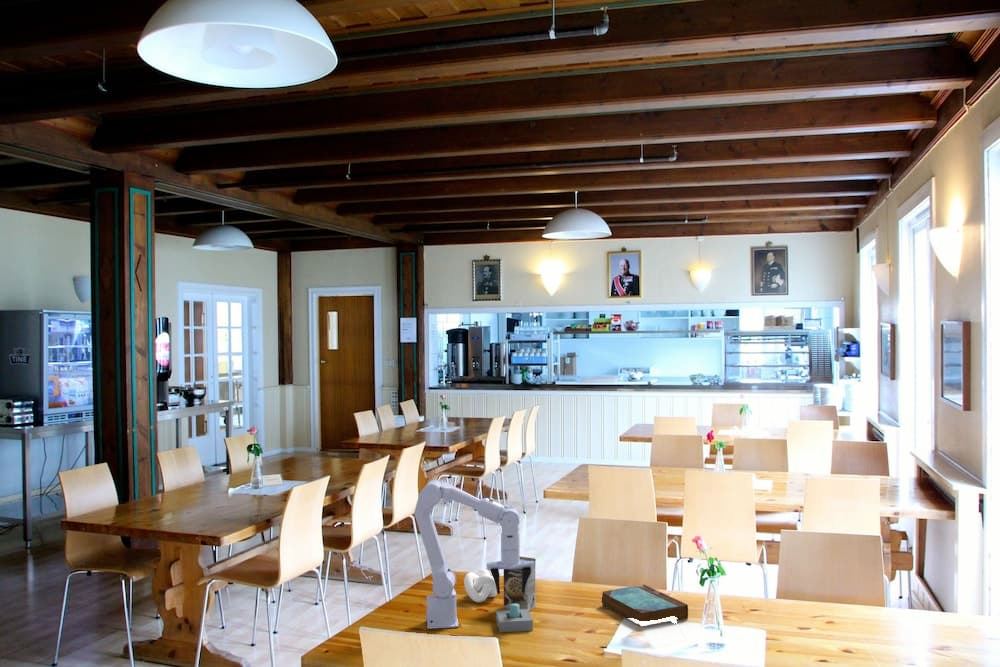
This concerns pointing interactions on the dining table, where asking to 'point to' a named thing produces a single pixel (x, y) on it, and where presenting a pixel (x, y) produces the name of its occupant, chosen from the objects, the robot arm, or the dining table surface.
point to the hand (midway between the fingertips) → (510, 592)
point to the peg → (514, 611)
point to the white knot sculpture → (480, 585)
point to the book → (643, 603)
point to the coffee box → (519, 588)
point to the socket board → (514, 621)
